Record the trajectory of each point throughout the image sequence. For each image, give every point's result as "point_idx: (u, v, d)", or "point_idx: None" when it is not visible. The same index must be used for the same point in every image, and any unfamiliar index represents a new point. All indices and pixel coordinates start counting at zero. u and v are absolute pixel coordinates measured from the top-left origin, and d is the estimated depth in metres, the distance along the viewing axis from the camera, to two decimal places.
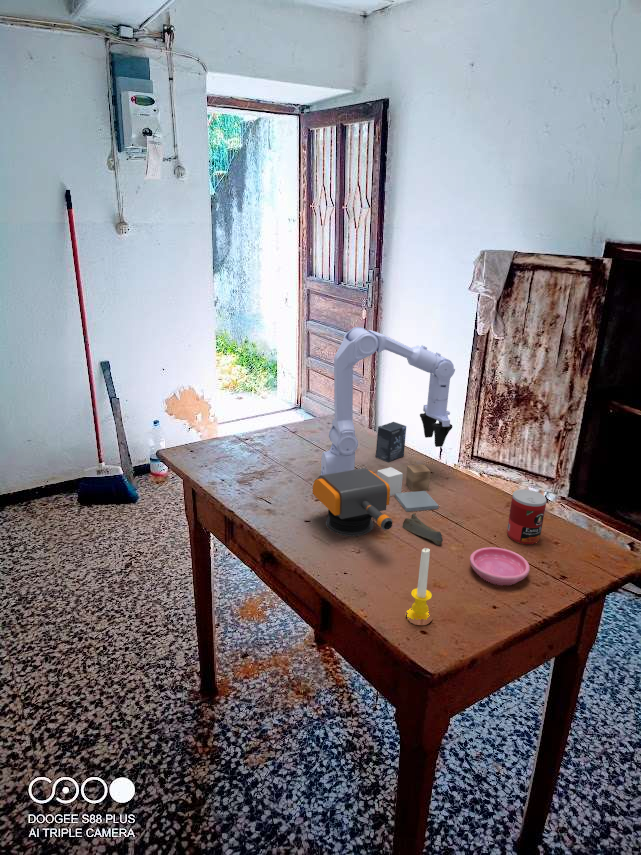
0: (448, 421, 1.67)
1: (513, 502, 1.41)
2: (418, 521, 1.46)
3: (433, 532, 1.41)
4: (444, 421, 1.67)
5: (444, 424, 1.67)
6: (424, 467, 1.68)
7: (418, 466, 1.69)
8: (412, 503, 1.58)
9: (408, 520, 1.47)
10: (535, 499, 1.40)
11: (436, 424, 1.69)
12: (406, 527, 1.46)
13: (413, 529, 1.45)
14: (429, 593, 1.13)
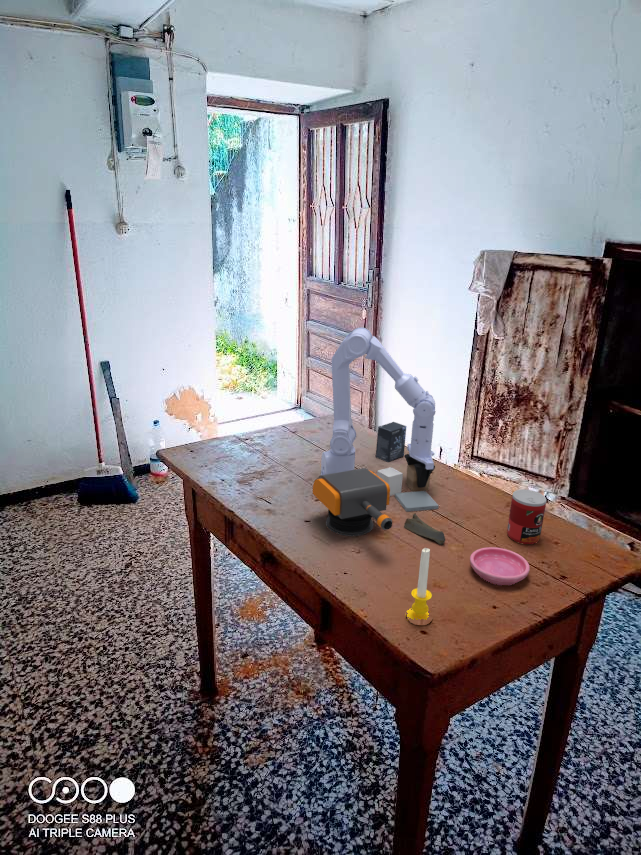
0: (432, 464, 1.60)
1: (513, 502, 1.41)
2: (420, 521, 1.46)
3: (435, 532, 1.41)
4: (428, 464, 1.59)
5: (428, 467, 1.60)
6: None
7: None
8: (412, 503, 1.58)
9: (410, 520, 1.47)
10: (534, 499, 1.40)
11: (419, 466, 1.62)
12: (408, 527, 1.47)
13: (415, 529, 1.45)
14: (429, 593, 1.13)
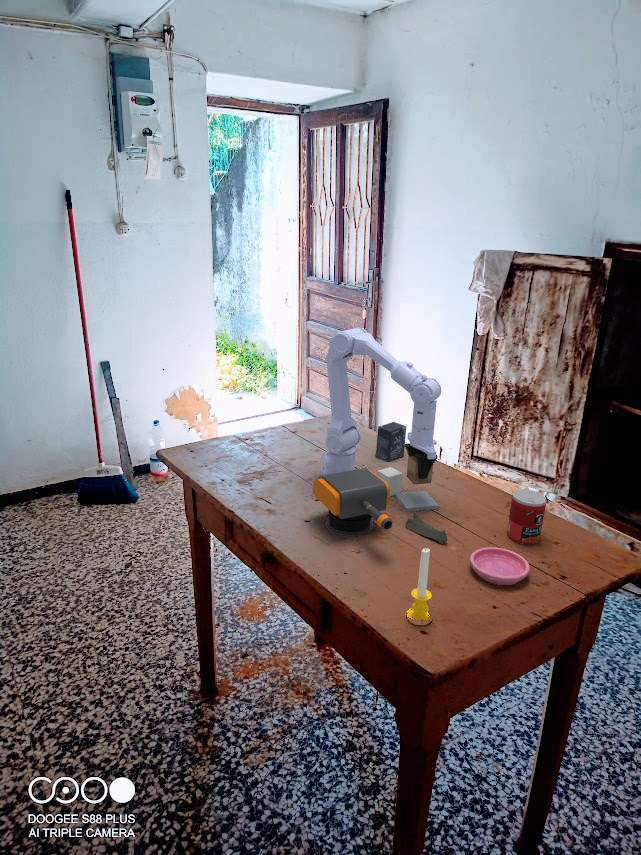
0: (434, 453, 1.48)
1: (513, 502, 1.41)
2: (421, 521, 1.46)
3: (437, 531, 1.41)
4: (430, 453, 1.48)
5: (430, 456, 1.48)
6: None
7: None
8: (412, 503, 1.58)
9: (411, 520, 1.47)
10: (534, 499, 1.40)
11: (421, 456, 1.51)
12: (409, 527, 1.47)
13: (416, 529, 1.45)
14: (429, 593, 1.13)
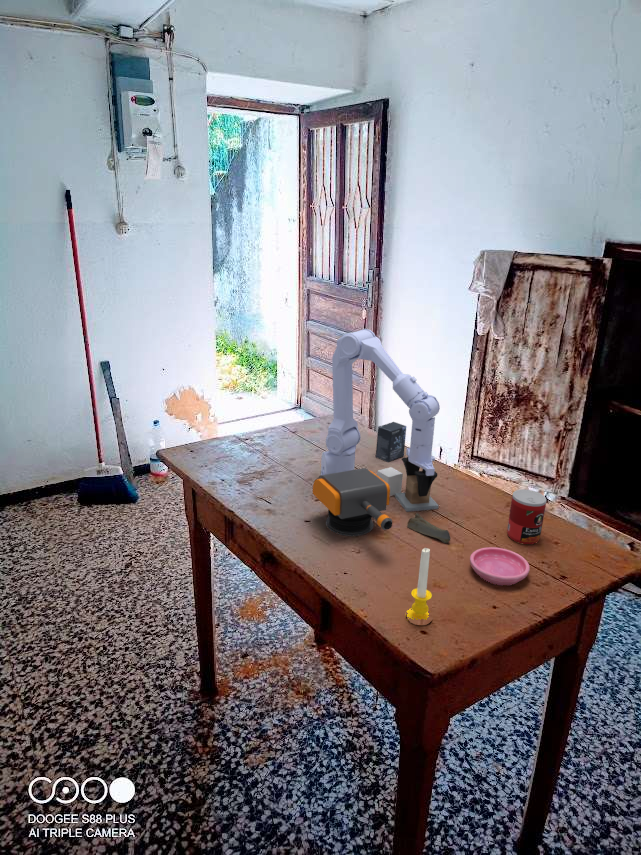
0: (432, 470, 1.50)
1: (513, 502, 1.41)
2: (423, 520, 1.47)
3: (440, 531, 1.42)
4: (428, 470, 1.50)
5: (428, 473, 1.50)
6: None
7: None
8: None
9: (413, 520, 1.47)
10: (534, 499, 1.40)
11: (419, 472, 1.52)
12: (411, 527, 1.47)
13: (419, 529, 1.45)
14: (429, 593, 1.13)
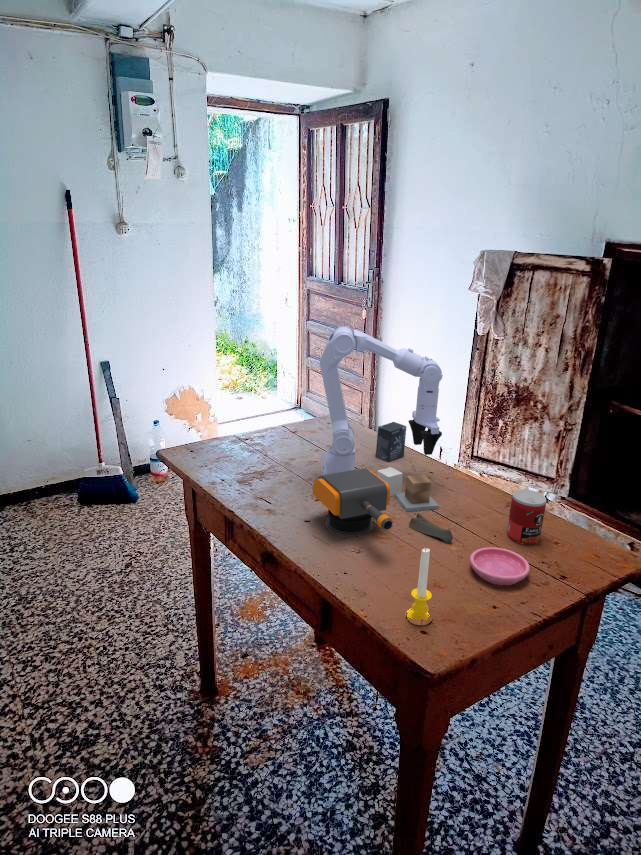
0: (437, 428, 1.60)
1: (513, 502, 1.41)
2: (425, 520, 1.47)
3: (442, 530, 1.42)
4: (433, 428, 1.60)
5: (433, 431, 1.60)
6: (424, 478, 1.59)
7: (418, 476, 1.59)
8: None
9: (415, 520, 1.47)
10: (534, 499, 1.40)
11: (425, 431, 1.62)
12: (413, 527, 1.47)
13: (420, 529, 1.45)
14: (429, 593, 1.13)
